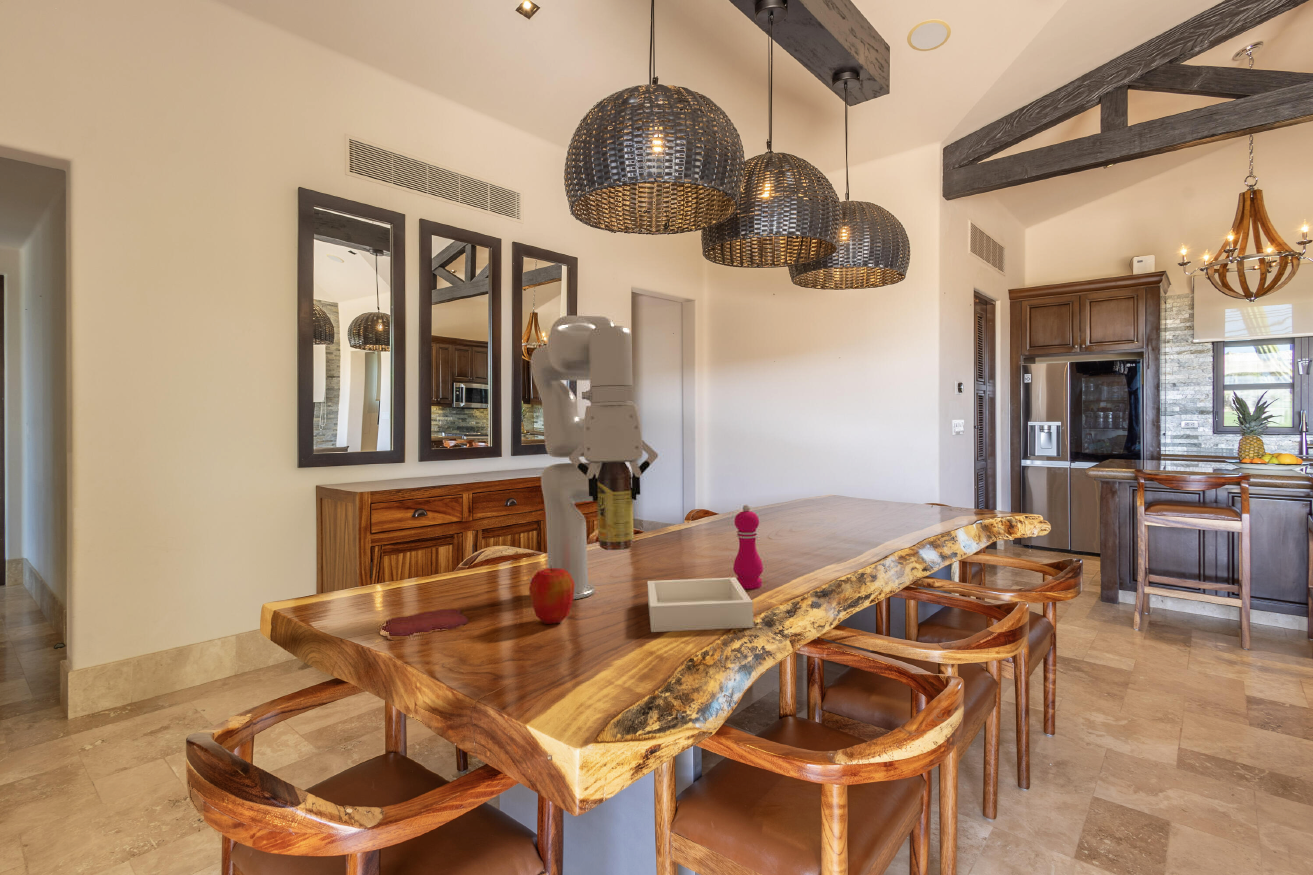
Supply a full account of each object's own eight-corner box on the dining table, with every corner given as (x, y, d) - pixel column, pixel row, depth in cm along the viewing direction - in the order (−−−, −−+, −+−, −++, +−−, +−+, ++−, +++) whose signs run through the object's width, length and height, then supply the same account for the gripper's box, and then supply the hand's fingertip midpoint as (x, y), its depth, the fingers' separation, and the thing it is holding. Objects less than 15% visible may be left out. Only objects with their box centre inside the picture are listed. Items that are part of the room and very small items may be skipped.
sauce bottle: (598, 545, 112) (595, 435, 112) (633, 543, 113) (629, 434, 112) (598, 552, 106) (594, 436, 105) (635, 550, 106) (631, 434, 106)
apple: (537, 632, 122) (535, 571, 122) (525, 620, 130) (523, 563, 130) (582, 624, 127) (580, 565, 126) (567, 613, 135) (565, 558, 134)
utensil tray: (651, 632, 120) (650, 606, 120) (648, 603, 140) (647, 581, 140) (753, 627, 121) (752, 601, 121) (736, 599, 141) (735, 577, 141)
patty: (385, 645, 119) (385, 635, 119) (373, 627, 130) (373, 618, 130) (476, 627, 128) (475, 617, 128) (457, 611, 140) (457, 602, 140)
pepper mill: (762, 582, 156) (760, 502, 155) (764, 589, 148) (762, 506, 148) (733, 582, 156) (731, 503, 156) (734, 589, 149) (731, 507, 149)
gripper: (559, 398, 105) (563, 504, 105) (662, 395, 105) (665, 500, 106) (564, 399, 112) (567, 499, 112) (660, 397, 113) (663, 495, 113)
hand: (614, 498), depth 109 cm, fingers closed on sauce bottle, 6 cm apart
